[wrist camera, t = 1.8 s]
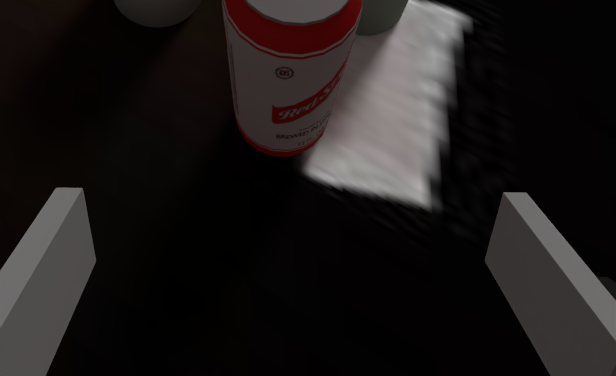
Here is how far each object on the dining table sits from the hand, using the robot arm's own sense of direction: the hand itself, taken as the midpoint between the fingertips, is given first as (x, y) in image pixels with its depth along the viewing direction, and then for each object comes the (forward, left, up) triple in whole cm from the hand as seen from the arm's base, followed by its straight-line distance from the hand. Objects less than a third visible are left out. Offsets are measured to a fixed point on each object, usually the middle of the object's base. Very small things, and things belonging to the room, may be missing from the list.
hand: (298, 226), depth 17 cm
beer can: (0, -11, -18) cm, 21 cm away
